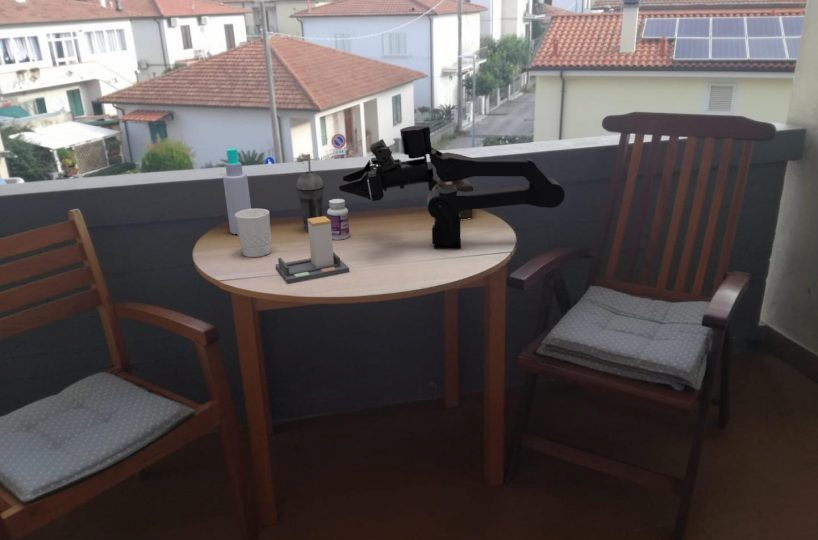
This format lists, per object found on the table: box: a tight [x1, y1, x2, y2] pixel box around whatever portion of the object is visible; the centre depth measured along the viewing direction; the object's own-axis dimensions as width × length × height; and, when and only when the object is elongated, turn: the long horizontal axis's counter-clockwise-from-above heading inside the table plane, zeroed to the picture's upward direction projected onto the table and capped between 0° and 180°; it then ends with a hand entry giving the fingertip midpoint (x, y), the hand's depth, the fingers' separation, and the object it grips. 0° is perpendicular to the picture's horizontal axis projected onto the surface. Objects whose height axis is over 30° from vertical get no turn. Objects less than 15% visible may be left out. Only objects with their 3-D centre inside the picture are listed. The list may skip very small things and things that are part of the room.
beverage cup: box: [295, 153, 325, 233], centre depth 165 cm, size 7×7×20 cm
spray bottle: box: [222, 148, 252, 236], centre depth 164 cm, size 6×6×22 cm
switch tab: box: [307, 215, 334, 268], centre depth 139 cm, size 4×4×10 cm
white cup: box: [235, 208, 272, 258], centre depth 151 cm, size 8×8×10 cm
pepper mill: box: [432, 178, 474, 220], centre depth 172 cm, size 16×11×18 cm
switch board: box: [274, 251, 350, 285], centre depth 140 cm, size 14×10×3 cm
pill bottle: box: [326, 198, 350, 241], centre depth 160 cm, size 5×5×10 cm
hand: (341, 183), depth 148 cm, fingers open, 9 cm apart
